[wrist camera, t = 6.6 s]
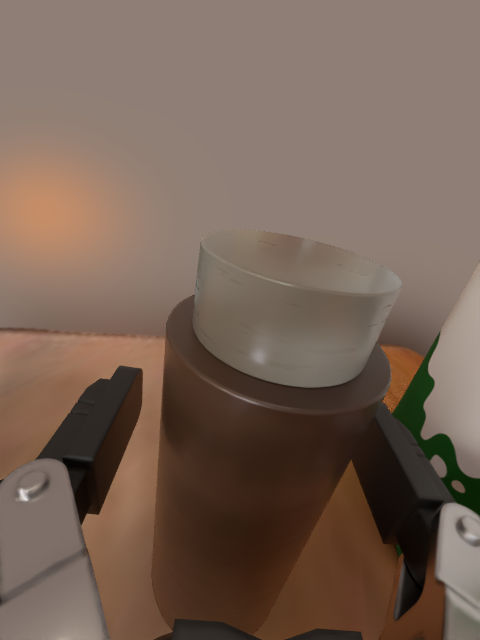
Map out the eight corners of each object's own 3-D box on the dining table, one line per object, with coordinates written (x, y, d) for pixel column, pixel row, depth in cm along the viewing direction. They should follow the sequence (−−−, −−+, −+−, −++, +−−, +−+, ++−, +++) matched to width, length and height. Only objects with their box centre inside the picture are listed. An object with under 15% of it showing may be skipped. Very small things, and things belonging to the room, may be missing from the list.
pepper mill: (123, 613, 11) (107, 250, 4) (185, 480, 16) (220, 216, 9) (266, 680, 10) (502, 352, 4) (284, 517, 15) (399, 256, 8)
